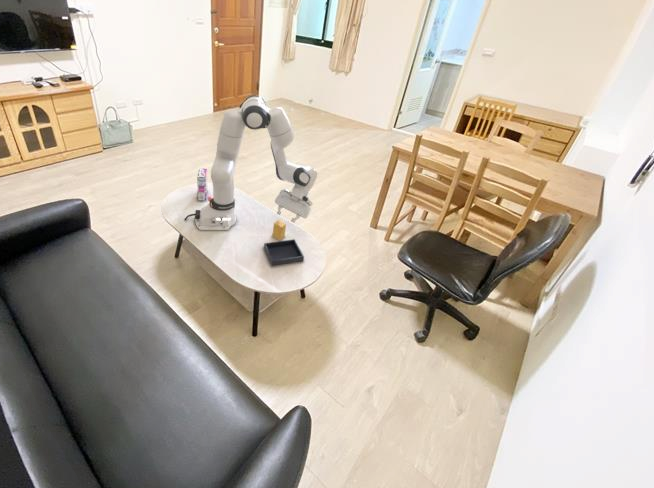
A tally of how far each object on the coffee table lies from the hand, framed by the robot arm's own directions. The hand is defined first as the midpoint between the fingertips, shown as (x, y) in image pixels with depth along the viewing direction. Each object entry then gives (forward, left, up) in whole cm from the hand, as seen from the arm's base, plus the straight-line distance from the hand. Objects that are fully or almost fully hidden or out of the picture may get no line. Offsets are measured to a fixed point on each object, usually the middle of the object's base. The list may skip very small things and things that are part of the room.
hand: (285, 218), depth 176 cm
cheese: (-4, -3, -10) cm, 11 cm away
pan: (-6, -17, -10) cm, 20 cm away
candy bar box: (-38, +43, -10) cm, 58 cm away
